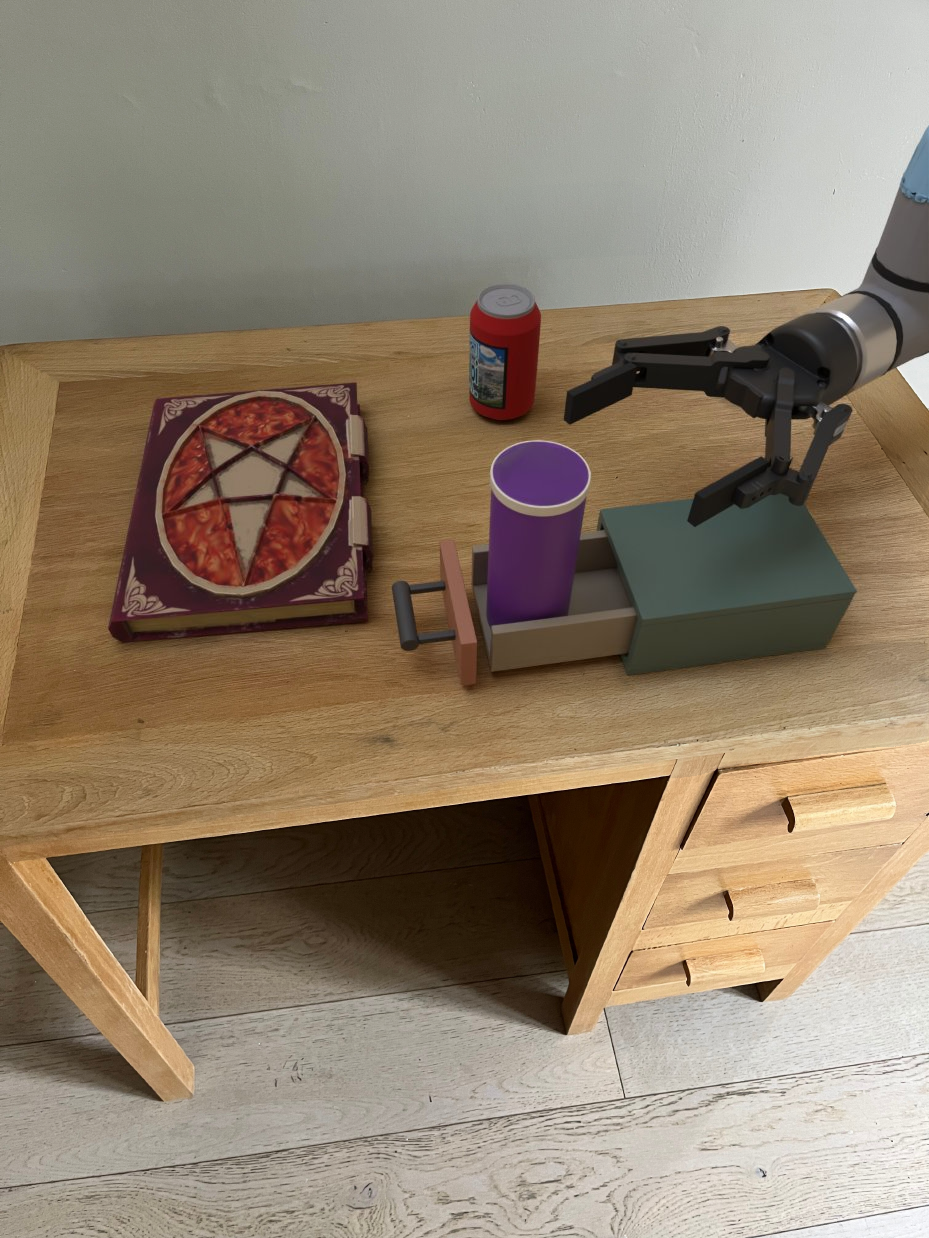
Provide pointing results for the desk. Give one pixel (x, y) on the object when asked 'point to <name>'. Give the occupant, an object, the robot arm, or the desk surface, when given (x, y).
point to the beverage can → (503, 351)
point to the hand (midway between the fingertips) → (627, 456)
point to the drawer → (587, 632)
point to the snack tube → (534, 530)
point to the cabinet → (725, 582)
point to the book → (248, 516)
